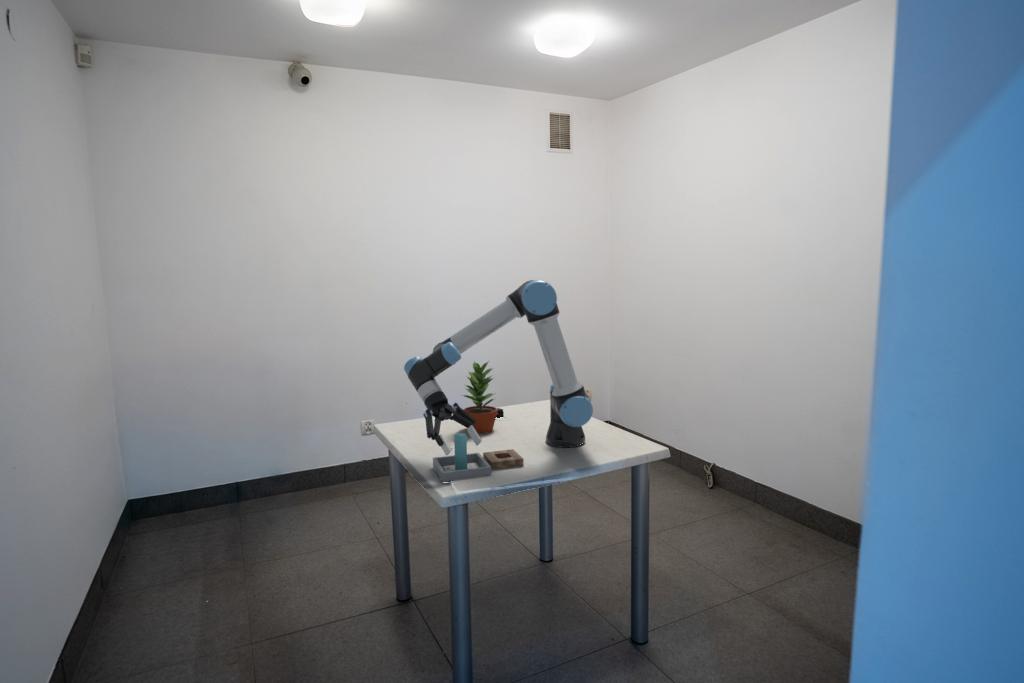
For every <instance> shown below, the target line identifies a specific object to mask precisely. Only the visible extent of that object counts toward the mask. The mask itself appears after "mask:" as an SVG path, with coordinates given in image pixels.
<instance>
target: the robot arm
mask: <svg viewBox="0 0 1024 683" xmlns="http://www.w3.org/2000/svg"><path fill="white" fill-rule="evenodd" d="M557 296H558V295H557V293H556V290H555V287H553V286H552V284H550V283H549V282H547V281H545V280H543V279H542V280H541V279H531V280H527V281H525V282H523V283H522V284H521V285H520V286H518V288H516V290H514V291H513V292H511V293H510V294H509V295H507V296H506V297H505V300H504V301H503V302H501V303H499V304H498V305H497V306H495V307H494V308H492V309H490V310H489V311H487V312H486V313H484V314H483V315H481V316H479V317H478V318H477V319H476V320H473V321H472V322H470V323H469V324H468V325H466V326H465V327H463V328H462V329H459V331H457V332H455V333H454V334H452V335H451V336H449V337H448V338H446V339H444V340H443V341H440V342H439V343H437V344H435V346H434V347H433V349H432V353H430V354H429V355H428V356H426V357H423V358H422V357H421V356H419V355H417V356H414V357H411V358H410V359H408V360H407V361H406V362H405V363H404V366H403V370H404V372H405V374H406V376H407V378H408V380H409V381H410V383H411V384H412V386H413V387H414V389H415V391H416V392H417V394H418V395H419V398H420V399H421V402H423V405H424V406H425V408H426V410H425V411H424V412H423V417H424V419H425V420H424V421H425V428H426V437H427V438H428V439H431V440H432V441H435V442H436V444H437V445H438V446H439V447H441V450H442V451H443V453H444V454H445V456H449V454H450V453H451V452H452V450H453V449H452V448H451V446H450V445H449V443H448V441H447V440H446V439H445V437H444V435H443V434H442V433H440V430H441V424H442V422H444V421H448V420H450V421H455V422H456V423H458V424H459V425H461V426H463V427H465V428H467V430H466V432H467V433H468V435H469V437H470V438H471V439H472V441H473V443H474V444H475V446H476V447H477V446H479V445H480V444H481V443H482V442H483V440H482V439H481V436H480V435H479V433H478V432H477V430H476V428H475V427H474V424H475V423H476V420H475V419H474V418H473V417H471V416H470V415H469V414H468V413H466V412H465V411H464V410H463V409H464V408H462V407H461V406H460V405H459V403H457V402H454V403H453V404H452V405H451V404H450V403H449V400H448V397H447V396H446V394H445V393H444V391H443V389H442V388H441V387H440V385H439V383H438V382H437V380H436V377H438V376H439V375H440V374H441V373H443V372H444V371H446V370H448V369H449V368H451V367H452V366H454V365H456V364H457V363H458V362H459V361H460V360H461V359H462V355H461V354H463V353H464V352H466V351H468V350H469V349H471V348H472V347H473V346H476V345H477V344H478V343H480V342H481V341H483V340H484V339H486V338H488V337H489V336H491V335H492V334H493V333H495V332H496V331H498V330H499V329H502V328H503V327H505V326H506V325H507V324H508V323H511V322H512V321H514V320H515V319H516V318H518V319H522V318H523V317H525V316H526V319H527V322H528V324H530V325H532V326H533V327H534V330H535V333H536V336H537V339H538V343H539V346H540V348H541V351H542V354H543V357H544V360H545V363H546V367H547V369H548V373H549V376H550V379H551V381H552V384H551V385H550V388H549V396H550V397H549V402H550V411H549V412H550V413H549V414H550V415H549V416H550V422H549V426H548V429H547V432H546V435H545V442H546V443H547V445H550V446H552V445H553V446H554V447H557V446H562V447H561V448H571V447H570V446H576V447H578V446H577V445H580V444H582V443H584V442H585V443H586V435H585V432H584V428H583V426H584V425H586V424H588V423H589V421H590V420H591V419H592V417H593V414H594V408H593V404H592V402H591V400H590V399H589V398H588V395H587V392H586V390H585V387H584V384H583V383H582V382H580V381H578V379H577V376H576V375H577V374H576V373H575V370H574V366H573V363H572V360H571V357H570V354H569V352H568V348H567V345H566V342H565V339H564V335H563V332H562V330H561V326H560V324H559V320H558V317H559V316H560V314H561V312H560V308H559V306H558V303H557V302H558V301H557V300H558V299H557V298H558V297H557ZM433 418H434V420H433ZM433 421H434V422H433ZM471 421H472V422H471ZM468 424H469V425H468ZM585 443H584V444H585ZM580 446H581V445H580Z"/></svg>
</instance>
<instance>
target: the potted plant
mask: <svg viewBox="0 0 1024 683" xmlns="http://www.w3.org/2000/svg"><path fill="white" fill-rule="evenodd" d="M489 362H490V360H488V361H487V362H485V363H483V364H482V366H481V365H480V363H477V362H476V361H473V363H472V368H473V372H471V371H469V370H468V374H469V375H470V377H469V376H466V377H467V379H468V380H469V382H470V384H471V386H470V385H466V384H464V386H465V387H464V389H465V390H466V391H467V392H469V393H470V394H471V395H468V394H464V395H463V394H461V396H463V397H465V398H466V399H467V398H468V399H470V400H472V403H474V405H472V406H467V407H465V408H462V409H463V410H464V411H465V412H466V413H468V414H469V415H470V416H471V417H473V418H474V419H475V420H476V423H475V424H474V427H475V428H476V430H477V432H478V434H487V433H486V432H488V433H491V432H493V430H494V426H495V422H496V419H495V418H496V415H497V408H498V407H497V406H489V405H488V404H490V403H491V402H493V401H494V400H495V398H491V397H492V396H494V395H495V394H496V392H494V393H487V394H485V391H487V389H488V387H489V386H490V385H489V383H490V382H491V381H492V380H494V379H495V377H493V378H491V377H492V375H490V376H488V377H486V376H487V375H488V374H489V373H490V372H491V371H493V368H488V369H486V367H487V365H488V363H489ZM466 387H467V388H466ZM484 394H485V395H484ZM489 398H491V399H490V400H488V401H486V400H487V399H489ZM484 401H486V402H485V403H483V402H484ZM471 422H472V421H471ZM468 425H469V424H468ZM490 431H491V432H490Z"/></svg>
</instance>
